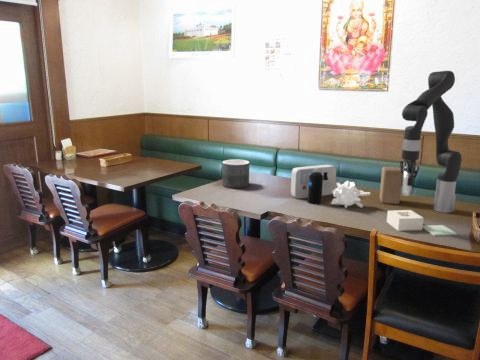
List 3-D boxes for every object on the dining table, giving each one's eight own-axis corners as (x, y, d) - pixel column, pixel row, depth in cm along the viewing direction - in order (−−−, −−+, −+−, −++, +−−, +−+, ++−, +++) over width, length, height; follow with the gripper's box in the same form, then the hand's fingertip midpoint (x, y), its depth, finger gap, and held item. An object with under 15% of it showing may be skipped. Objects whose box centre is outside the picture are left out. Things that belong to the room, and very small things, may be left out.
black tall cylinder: (323, 201, 235) (325, 167, 230) (319, 205, 228) (321, 170, 223) (309, 199, 238) (311, 166, 233) (305, 203, 231) (307, 169, 226)
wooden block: (399, 204, 230) (403, 170, 225) (381, 203, 232) (384, 169, 227) (396, 199, 239) (400, 166, 234) (378, 198, 241) (382, 166, 236)
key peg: (408, 193, 196) (411, 165, 192) (412, 196, 191) (415, 167, 188) (399, 193, 195) (402, 165, 192) (403, 196, 191) (406, 167, 188)
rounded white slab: (296, 200, 237) (298, 170, 233) (290, 196, 244) (291, 167, 239) (337, 195, 248) (339, 166, 243) (329, 192, 255) (331, 164, 250)
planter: (249, 188, 261) (249, 165, 257) (221, 188, 261) (221, 164, 257) (248, 181, 278) (249, 159, 274) (223, 181, 278) (223, 159, 274)
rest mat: (442, 226, 196) (442, 225, 196) (456, 235, 186) (456, 233, 185) (421, 227, 195) (421, 225, 195) (434, 235, 184) (434, 234, 184)
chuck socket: (409, 221, 203) (410, 209, 202) (422, 229, 192) (423, 218, 190) (386, 221, 202) (387, 210, 200) (398, 230, 190) (399, 218, 189)
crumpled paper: (340, 190, 212) (339, 168, 221) (326, 207, 225) (326, 187, 234) (375, 199, 214) (372, 177, 224) (359, 216, 228) (357, 195, 237)
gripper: (426, 151, 181) (422, 188, 186) (411, 146, 195) (407, 180, 199) (410, 151, 181) (407, 188, 185) (396, 146, 194) (392, 180, 199)
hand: (407, 184), depth 192 cm, fingers closed on key peg, 4 cm apart
